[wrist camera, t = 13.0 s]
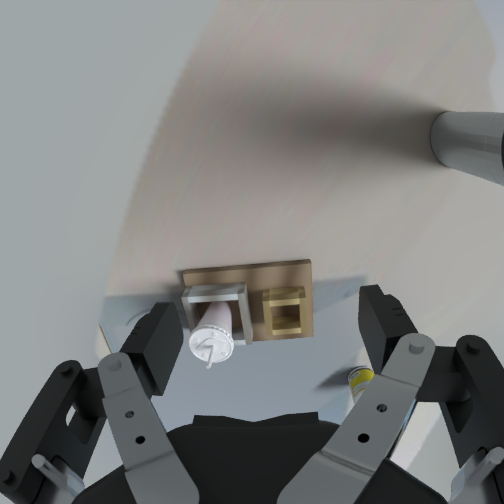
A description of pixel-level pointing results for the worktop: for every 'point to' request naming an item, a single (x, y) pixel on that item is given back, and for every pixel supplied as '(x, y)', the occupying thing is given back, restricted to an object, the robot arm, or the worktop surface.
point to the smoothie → (213, 334)
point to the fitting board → (255, 299)
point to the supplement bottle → (359, 381)
